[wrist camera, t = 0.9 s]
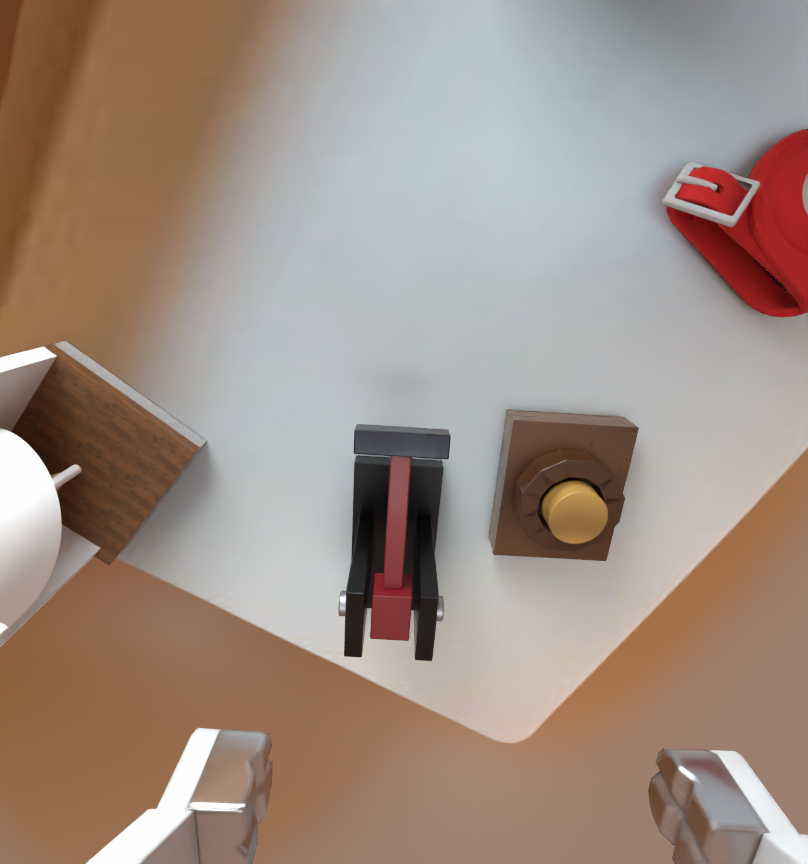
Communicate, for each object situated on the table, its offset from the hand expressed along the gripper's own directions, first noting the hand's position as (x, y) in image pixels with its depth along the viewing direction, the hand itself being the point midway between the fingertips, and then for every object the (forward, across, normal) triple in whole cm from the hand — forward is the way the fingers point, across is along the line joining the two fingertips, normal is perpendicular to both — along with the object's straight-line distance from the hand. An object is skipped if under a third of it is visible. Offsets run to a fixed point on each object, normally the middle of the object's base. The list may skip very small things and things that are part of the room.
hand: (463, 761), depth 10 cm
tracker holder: (+23, -19, -15) cm, 33 cm away
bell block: (+24, -10, +3) cm, 26 cm away
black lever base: (+24, +2, +8) cm, 26 cm away
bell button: (+21, -10, +3) cm, 23 cm away
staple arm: (+18, +1, +4) cm, 18 cm away
